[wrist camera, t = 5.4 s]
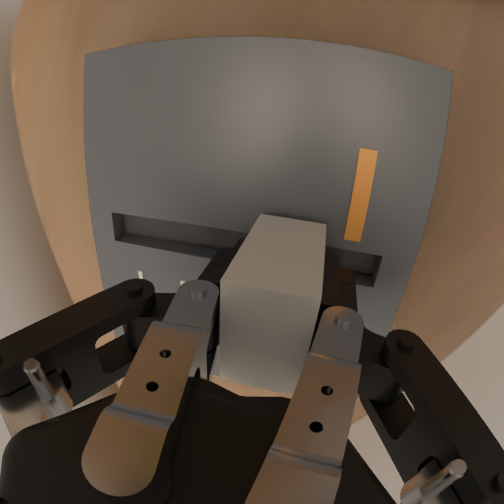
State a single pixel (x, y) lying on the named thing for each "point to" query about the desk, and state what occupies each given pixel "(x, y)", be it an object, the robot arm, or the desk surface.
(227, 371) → the fader tab
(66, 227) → the desk surface
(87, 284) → the desk surface
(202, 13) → the desk surface
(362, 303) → the fader console
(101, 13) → the desk surface
